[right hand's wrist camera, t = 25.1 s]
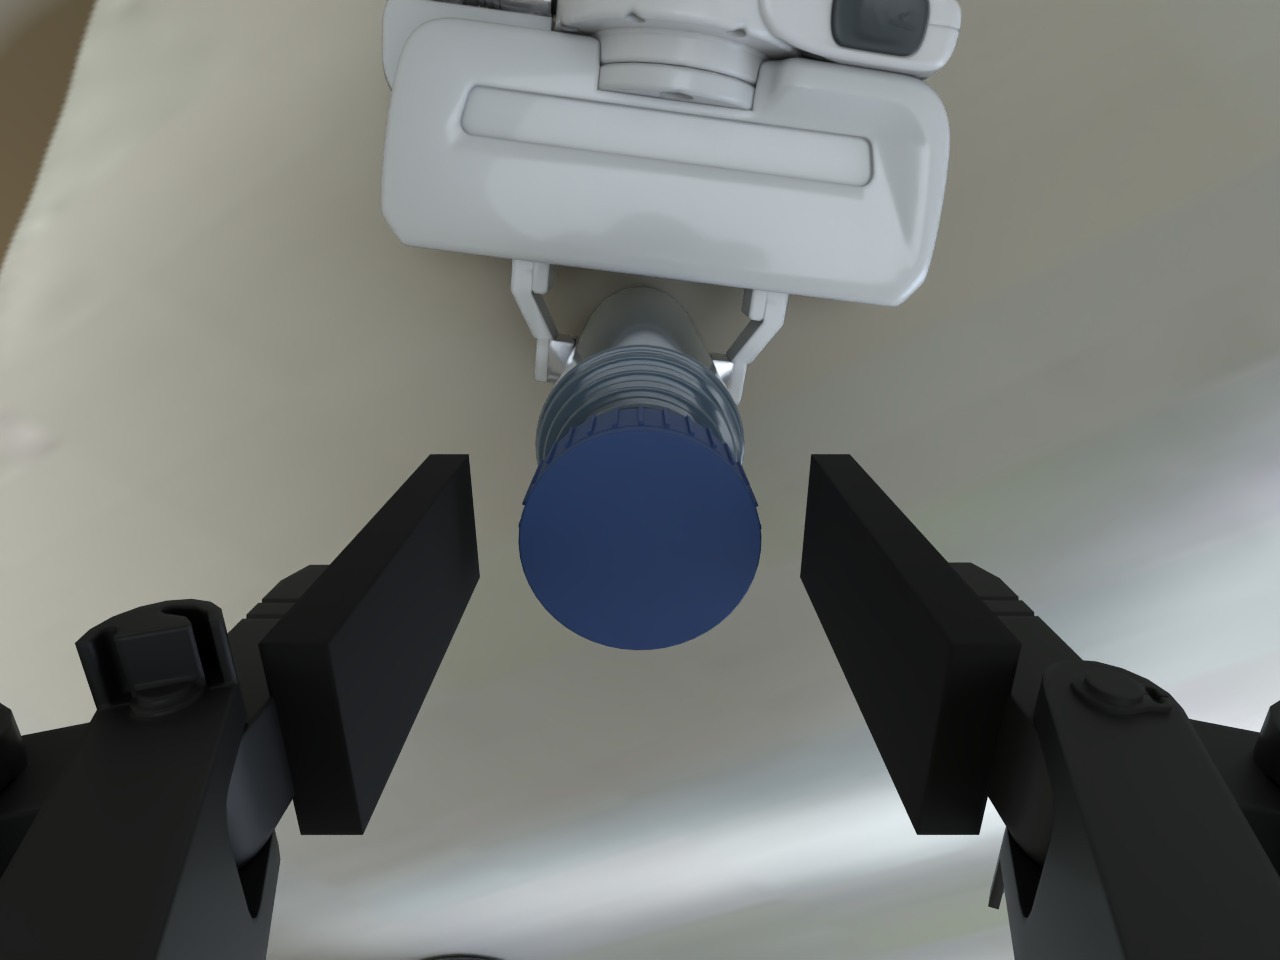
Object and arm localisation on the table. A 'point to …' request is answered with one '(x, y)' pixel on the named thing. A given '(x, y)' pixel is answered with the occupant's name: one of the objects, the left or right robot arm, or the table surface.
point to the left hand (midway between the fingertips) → (638, 390)
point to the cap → (639, 530)
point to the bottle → (639, 371)
